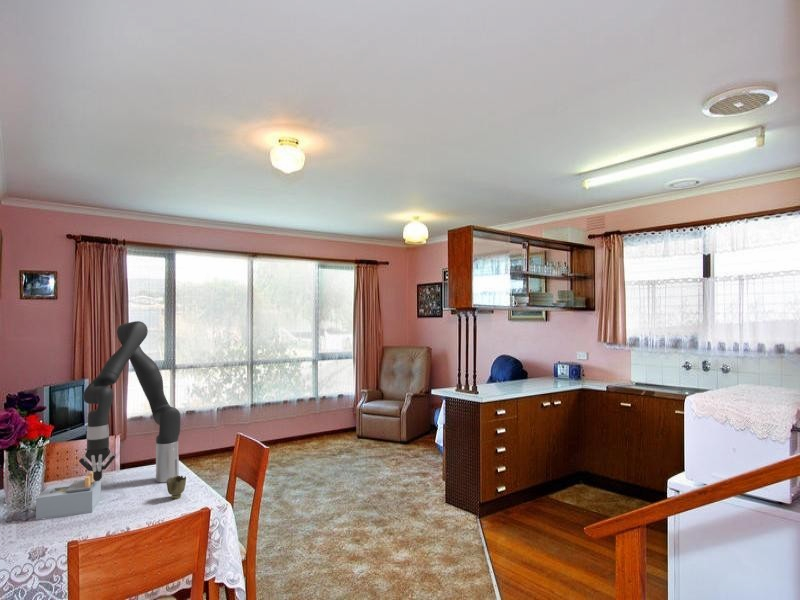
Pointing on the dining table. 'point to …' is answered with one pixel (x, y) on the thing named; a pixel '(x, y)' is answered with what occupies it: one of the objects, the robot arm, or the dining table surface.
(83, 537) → the dining table surface
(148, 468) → the dining table surface
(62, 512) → the housing
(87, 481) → the lid
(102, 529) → the dining table surface
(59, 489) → the brass cylinder
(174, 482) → the cup
